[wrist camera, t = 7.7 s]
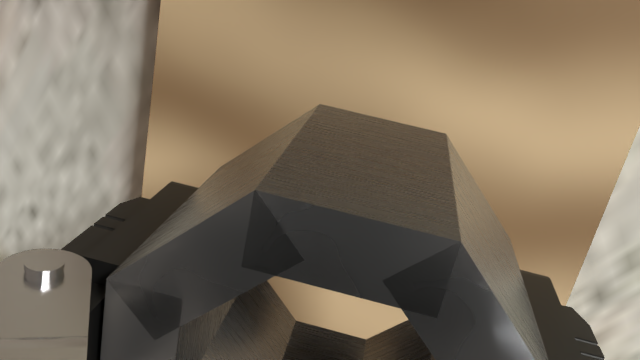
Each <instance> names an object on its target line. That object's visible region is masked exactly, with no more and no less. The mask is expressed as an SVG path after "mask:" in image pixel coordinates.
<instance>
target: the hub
mask: <svg viewBox="0 0 640 360" xmlns="http://www.w3.org/2000/svg"><path fill="white" fill-rule="evenodd" d="M274 276H278V277H282V278H286V279H289V280H293V281H297V282H301V283H305V284H309V285H312V286H316V287H320V288H324V289H328V290H331V291H335V292H339V293H343V294H347V295H351V296H354V297H358V298H362V299H366V300H370V301H373V302H377V303H381V304H385V305H389V306H392V307H396V308H400V309H402V311H403V312H404V314H405V315H406V317H407V318H408V320H407V321H404V322H402V323H400V324H398V325H396V326H394V327H392V328H389V329H387V330H385V331H383V332H381V333H379V334H377V335H374V336H372V337H370V338H368V339H363V338H359V337H356V336H352V335H348V334H344V333H341V332H337V331H333V330H329V329H326V328H322V327H318V326H314V325H311V324H307V323H303V322H299V321H296V320H295V318H294V317H293V316H292V314H291V313H290V311H289V310H288V309H287V307H286V306H285V304H284V303H283V302H282V300H281V299H280V298H279V296H278V295H277V293H276V292H275V291H274V289H273V288H272V286H271V285H270V284H269V282H268V281H267V280H269V279H271V278H272V277H274ZM100 360H548V356H547V353H546V350H545V347H544V344H543V341H542V338H541V334H540V331H539V328H538V325H537V322H536V319H535V316H534V312H533V309H532V306H531V303H530V300H529V297H528V294H527V290H526V287H525V284H524V281H523V278H522V275H521V272H520V269H519V265H518V262H517V259H516V256H515V253H514V250H513V247H512V243H511V240H510V237H509V236H508V234H507V233H506V231H505V229H504V228H503V226H502V224H501V223H500V221H499V219H498V218H497V216H496V215H495V213H494V211H493V210H492V208H491V206H490V205H489V203H488V201H487V200H486V198H485V196H484V195H483V193H482V192H481V190H480V188H479V187H478V185H477V183H476V182H475V180H474V178H473V177H472V175H471V174H470V172H469V170H468V169H467V167H466V165H465V164H464V162H463V160H462V159H461V157H460V155H459V154H458V152H457V151H456V149H455V147H454V146H453V144H452V142H451V141H450V139H449V137H448V136H447V134H446V133H441V132H437V131H433V130H429V129H424V128H420V127H416V126H412V125H408V124H403V123H399V122H395V121H391V120H386V119H382V118H378V117H374V116H369V115H365V114H361V113H357V112H352V111H348V110H344V109H340V108H335V107H331V106H327V105H323V104H319V105H318V106H316V107H314V108H313V109H311V110H310V111H308V112H306V113H305V114H303V115H302V116H300V117H298V118H297V119H295V120H294V121H292V122H291V123H289V124H287V125H286V126H284V127H283V128H281V129H279V130H278V131H276V132H275V133H273V134H271V135H270V136H268V137H267V138H265V139H263V140H262V141H260V142H259V143H257V144H256V145H254V146H252V147H251V148H249V149H248V150H246V151H244V152H243V153H241V154H240V155H238V156H236V157H235V158H233V159H232V160H230V161H228V162H227V163H225V164H224V165H222V166H221V167H220V168H219V169H218V170H217V171H216V172H215V173H213V174H212V175H211V176H210V177H209V178H208V179H207V180H206V181H205V182H204V183H203V184H202V185H201V186H200V187H199V188H198V189H197V190H196V191H195V192H194V193H193V194H192V195H191V196H190V197H189V198H188V199H187V200H186V201H185V202H184V203H183V204H182V205H181V206H180V207H179V208H178V209H177V210H176V211H175V212H174V213H173V214H172V215H171V216H170V217H169V218H168V219H167V220H166V221H165V222H164V223H163V224H162V225H161V226H159V227H158V228H157V229H156V230H155V231H154V232H153V233H152V234H151V235H150V236H149V237H148V238H147V239H146V240H145V241H144V242H143V243H142V244H141V245H140V246H139V247H138V248H137V249H136V250H135V251H134V252H133V253H132V254H131V255H130V256H129V257H128V258H127V259H126V260H125V261H124V262H123V263H122V264H121V265H120V266H119V267H118V268H117V269H116V270H115V271H114V272H113V273H112V274H111V275H110V276H109V277H108V278H107V279H106V292H105V304H104V317H103V330H102V342H101V355H100Z"/></svg>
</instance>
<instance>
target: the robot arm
mask: <svg viewBox="0 0 640 360" xmlns="http://www.w3.org/2000/svg"><path fill="white" fill-rule="evenodd" d="M197 189H198V188H197V187H193V186H189V185H185V184H181V183H177V182H173V181H172V182H170V183H168V184H167V185H166V186H165V187H164V188H163V189H161V190H160V191H159V192H158V193H157V194H156V195H154V196H153V197H152V198H151V199H147V198H143V197H139V198H136V199H133V200H130V201H127V202H124V203H120V204H119V205H117V206H116V207H115V208H114V209H112V210H111V211H110V212H108V213H107V214H106V216H105V217H102V218H101V219H100V220H98V221H97V222H96V223H94V226H91V227H89V228H88V229H87V230H85V231H84V232H83V233H82V234H80V235H79V236H78V237H76V238H75V239H74V240H73V241H71V242H70V243H69V244H67V245H66V246H65V247H64V248H62V249H61V250H59V249H33V250H28V251H23V252H19V253H16V254H14V255H11V256H9V257H7V258H5V259H4V260H2V261H1V262H0V360H100V355H101V342H102V330H103V317H104V304H105V292H106V279H107V278H108V277H109V276H110V275H111V274H112V273H113V272H114V271H115V270H116V269H117V268H118V267H119V266H120V265H121V264H122V263H123V262H124V261H125V260H126V259H127V258H128V257H129V256H130V255H131V254H132V253H133V252H134V251H135V250H136V249H137V248H138V247H139V246H140V245H141V244H142V243H143V242H144V241H145V240H146V239H147V238H148V237H149V236H150V235H151V234H152V233H153V232H154V231H155V230H156V229H157V228H158V227H159V226H161V225H162V224H163V223H164V222H165V221H166V220H167V219H168V218H169V217H170V216H171V215H172V214H173V213H174V212H175V211H176V210H177V209H178V208H179V207H180V206H181V205H182V204H183V203H184V202H185V201H186V200H187V199H188V198H189V197H190V196H191V195H192V194H193V193H194V192H195V191H196V190H197ZM520 272H521V275H522V278H523V281H524V284H525V287H526V290H527V294H528V297H529V300H530V303H531V306H532V309H533V312H534V316H535V319H536V322H537V325H538V328H539V331H540V334H541V338H542V341H543V344H544V347H545V350H546V353H547V356H548V360H604V355H603V353H602V351H601V349H600V347H599V346H597V344H598V343H597V340H596V338H595V336H594V334H593V332H592V330H591V327H590V325H589V324H588V323H587V322H586V321H585V320H584V319H583V318H582V317H581V316H580V315H579V314H578V313H577V312H576V311H575V310H574V309H573V308H571V307H567V306H563V305H561V303H560V301H559V298H558V296H557V293H556V291H555V289H554V286H553V284H552V281H551V279H550V278H549V277H548V276H544V275H540V274H536V273H532V272H528V271H524V270H520Z"/></svg>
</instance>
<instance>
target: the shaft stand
mask: <svg viewBox="0 0 640 360" xmlns="http://www.w3.org/2000/svg"><path fill="white" fill-rule="evenodd" d="M319 104H323V105H327V106H331V107H335V108H340V109H344V110H348V111H352V112H357V113H361V114H365V115H369V116H374V117H378V118H382V119H386V120H391V121H395V122H399V123H403V124H408V125H412V126H416V127H420V128H424V129H429V130H433V131H437V132H441V133H446V134H447V136H448V137H449V139H450V141H451V142H452V144H453V146H454V147H455V149H456V151H457V152H458V154H459V155H460V157H461V159H462V160H463V162H464V164H465V165H466V167H467V169H468V170H469V172H470V174H471V175H472V177H473V178H474V180H475V182H476V183H477V185H478V187H479V188H480V190H481V192H482V193H483V195H484V196H485V198H486V200H487V201H488V203H489V205H490V206H491V208H492V210H493V211H494V213H495V215H496V216H497V218H498V219H499V221H500V223H501V224H502V226H503V228H504V229H505V231H506V233H507V234H508V236H509V237H510V240H511V243H512V247H513V250H514V253H515V256H516V259H517V262H518V265H519V269H520V270H524V271H528V272H532V273H536V274H540V275H544V276H548V277H549V278H550V279H551V281H552V284H553V286H554V289H555V291H556V293H557V296H558V298H559V301H560V303H561V305H563V306H566V303H567V301H568V298H569V296H570V294H571V291H572V289H573V286H574V284H575V281H576V279H577V277H578V274H579V272H580V269H581V267H582V264H583V262H584V260H585V257H586V255H587V252H588V250H589V247H590V245H591V243H592V240H593V238H594V235H595V233H596V230H597V228H598V226H599V223H600V221H601V218H602V216H603V213H604V211H605V209H606V206H607V204H608V201H609V199H610V196H611V194H612V192H613V189H614V187H615V184H616V182H617V179H618V177H619V175H620V172H621V170H622V167H623V165H624V162H625V160H626V158H627V155H628V153H629V150H630V148H631V145H632V143H633V141H634V138H635V136H636V133H637V131H638V128H639V126H640V0H161V4H160V14H159V24H158V34H157V44H156V54H155V65H154V75H153V85H152V95H151V105H150V115H149V125H148V135H147V146H146V156H145V166H144V176H143V186H142V196H141V197H143V198H147V199H151V198H152V197H153V196H154V195H156V194H157V193H158V192H159V191H160V190H161V189H163V188H164V187H165V186H166V185H167V184H168V183H170V182H172V181H173V182H177V183H181V184H185V185H189V186H193V187H197V188H199V187H200V186H201V185H202V184H203V183H204V182H205V181H206V180H207V179H208V178H209V177H210V176H211V175H212V174H213V173H215V172H216V171H217V170H218V169H219V168H220V167H221V166H222V165H224V164H225V163H227V162H228V161H230V160H232V159H233V158H235V157H236V156H238V155H240V154H241V153H243V152H244V151H246V150H248V149H249V148H251V147H252V146H254V145H256V144H257V143H259V142H260V141H262V140H263V139H265V138H267V137H268V136H270V135H271V134H273V133H275V132H276V131H278V130H279V129H281V128H283V127H284V126H286V125H287V124H289V123H291V122H292V121H294V120H295V119H297V118H298V117H300V116H302V115H303V114H305V113H306V112H308V111H310V110H311V109H313V108H314V107H316V106H318V105H319ZM267 281H268V282H269V284H270V285H271V286H272V288H273V289H274V291H275V292H276V293H277V295H278V296H279V298H280V299H281V300H282V302H283V303H284V304H285V306H286V307H287V309H288V310H289V311H290V313H291V314H292V316H293V317H294V318H295V320H296V321H299V322H303V323H307V324H311V325H314V326H318V327H322V328H326V329H329V330H333V331H337V332H341V333H344V334H348V335H352V336H356V337H359V338H363V339H368V338H370V337H372V336H374V335H377V334H379V333H381V332H383V331H385V330H387V329H389V328H392V327H394V326H396V325H398V324H400V323H402V322H404V321H407V320H408V318H407V317H406V315H405V314H404V312H403V311H402V309H400V308H396V307H392V306H389V305H385V304H381V303H377V302H373V301H370V300H366V299H362V298H358V297H354V296H351V295H347V294H343V293H339V292H335V291H331V290H328V289H324V288H320V287H316V286H312V285H309V284H305V283H301V282H297V281H293V280H289V279H286V278H282V277H278V276H274V277H272V278H271V279H269V280H267Z"/></svg>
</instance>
